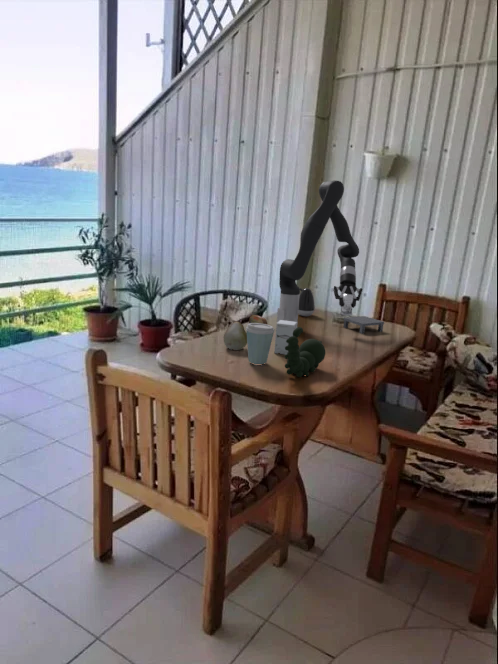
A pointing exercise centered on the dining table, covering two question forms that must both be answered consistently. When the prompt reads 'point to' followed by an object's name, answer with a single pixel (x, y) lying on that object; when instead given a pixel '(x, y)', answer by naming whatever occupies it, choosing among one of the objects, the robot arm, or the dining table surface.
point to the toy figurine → (303, 354)
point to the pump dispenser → (306, 302)
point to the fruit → (235, 336)
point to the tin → (257, 319)
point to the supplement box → (283, 335)
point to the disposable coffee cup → (259, 342)
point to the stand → (363, 322)
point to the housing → (347, 304)
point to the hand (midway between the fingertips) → (347, 306)
